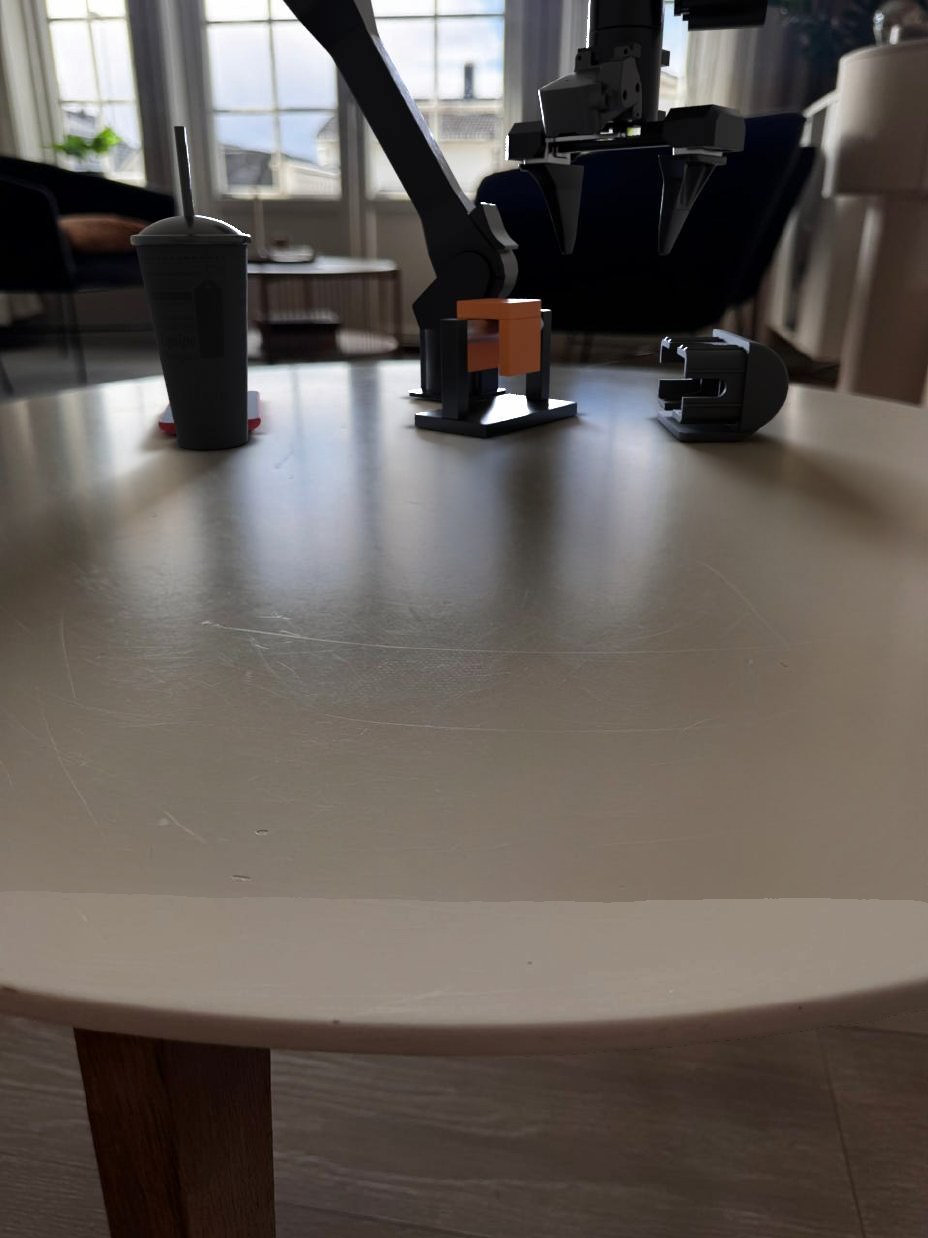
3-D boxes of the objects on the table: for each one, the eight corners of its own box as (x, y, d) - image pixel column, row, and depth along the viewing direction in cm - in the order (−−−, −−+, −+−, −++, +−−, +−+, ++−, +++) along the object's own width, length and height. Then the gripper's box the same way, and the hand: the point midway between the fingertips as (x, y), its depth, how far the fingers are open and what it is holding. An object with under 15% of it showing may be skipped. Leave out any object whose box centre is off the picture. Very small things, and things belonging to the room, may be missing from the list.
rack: (414, 427, 71) (411, 317, 68) (508, 405, 79) (509, 307, 76) (486, 438, 67) (486, 322, 64) (577, 414, 75) (581, 311, 72)
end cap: (782, 442, 64) (795, 342, 62) (681, 443, 64) (689, 342, 62) (743, 416, 74) (753, 328, 71) (654, 417, 74) (660, 328, 71)
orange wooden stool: (457, 371, 72) (456, 300, 70) (489, 366, 74) (489, 298, 72) (509, 376, 69) (509, 302, 67) (540, 370, 71) (541, 299, 69)
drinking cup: (287, 435, 68) (263, 129, 60) (231, 457, 61) (196, 116, 54) (198, 429, 70) (164, 134, 63) (135, 450, 64) (88, 122, 56)
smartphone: (259, 390, 82) (260, 418, 68) (260, 400, 82) (261, 431, 69) (173, 393, 81) (157, 423, 67) (174, 403, 81) (158, 435, 67)
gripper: (463, 34, 70) (464, 255, 76) (688, -4, 59) (669, 257, 65) (547, 54, 78) (542, 253, 84) (759, 23, 67) (736, 254, 73)
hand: (613, 254), depth 76 cm, fingers open, 9 cm apart
